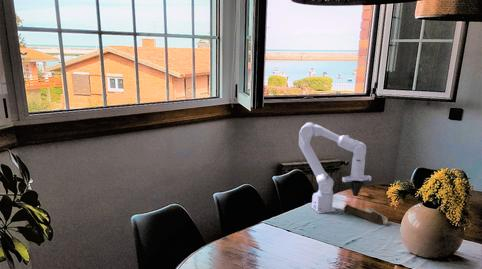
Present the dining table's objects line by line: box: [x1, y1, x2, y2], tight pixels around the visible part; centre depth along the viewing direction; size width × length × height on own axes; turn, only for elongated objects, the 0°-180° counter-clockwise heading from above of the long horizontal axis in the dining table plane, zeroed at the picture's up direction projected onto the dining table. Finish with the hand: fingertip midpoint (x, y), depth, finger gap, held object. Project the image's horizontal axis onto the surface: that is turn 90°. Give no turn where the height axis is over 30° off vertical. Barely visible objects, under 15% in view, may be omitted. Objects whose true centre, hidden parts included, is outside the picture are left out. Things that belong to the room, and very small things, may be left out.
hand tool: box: [344, 204, 384, 226], centre depth 167 cm, size 19×4×5 cm, turn 39°
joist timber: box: [364, 207, 388, 225], centre depth 167 cm, size 3×12×3 cm, turn 17°
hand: (355, 195), depth 170 cm, fingers closed
